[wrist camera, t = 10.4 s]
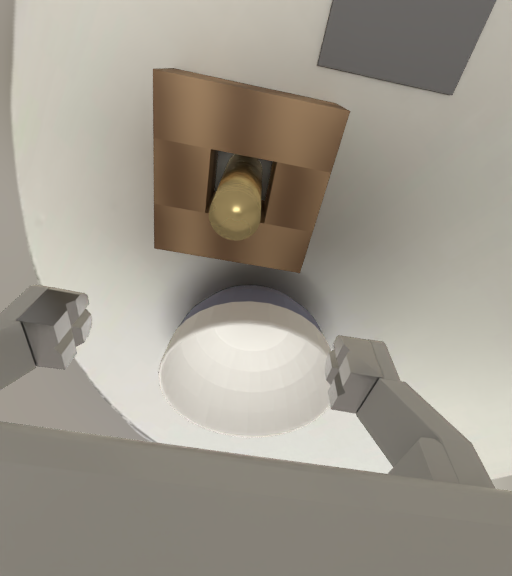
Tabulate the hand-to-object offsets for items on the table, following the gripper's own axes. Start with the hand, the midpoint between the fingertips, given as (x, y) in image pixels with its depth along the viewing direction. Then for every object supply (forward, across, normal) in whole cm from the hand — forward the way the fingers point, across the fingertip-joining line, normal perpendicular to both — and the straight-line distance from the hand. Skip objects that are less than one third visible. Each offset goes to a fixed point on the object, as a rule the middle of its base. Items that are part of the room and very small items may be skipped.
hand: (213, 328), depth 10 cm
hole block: (+20, 0, 0) cm, 20 cm away
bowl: (+20, -3, +16) cm, 26 cm away
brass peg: (+20, 0, 0) cm, 20 cm away
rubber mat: (+20, -8, -12) cm, 25 cm away
